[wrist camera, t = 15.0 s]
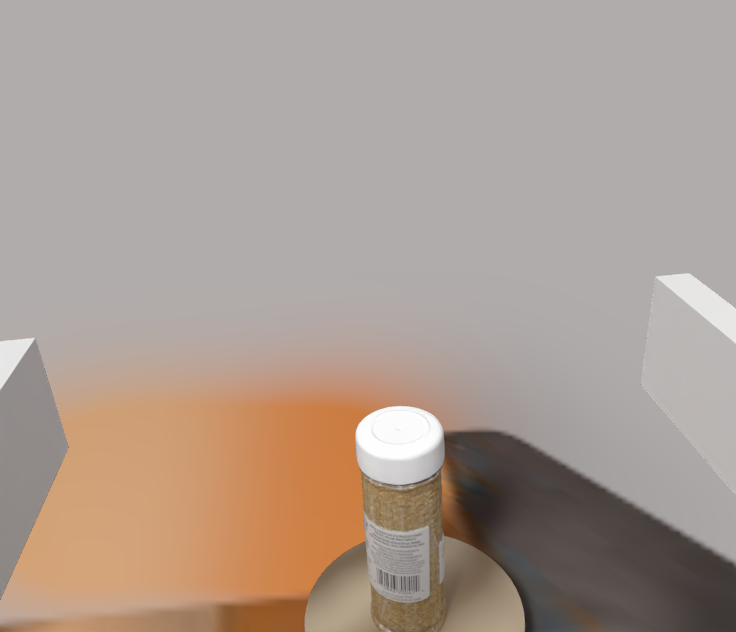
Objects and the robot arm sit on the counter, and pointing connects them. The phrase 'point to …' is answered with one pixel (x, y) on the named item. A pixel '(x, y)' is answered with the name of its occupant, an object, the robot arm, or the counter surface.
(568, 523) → the counter surface
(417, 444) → the spice jar
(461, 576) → the disc
